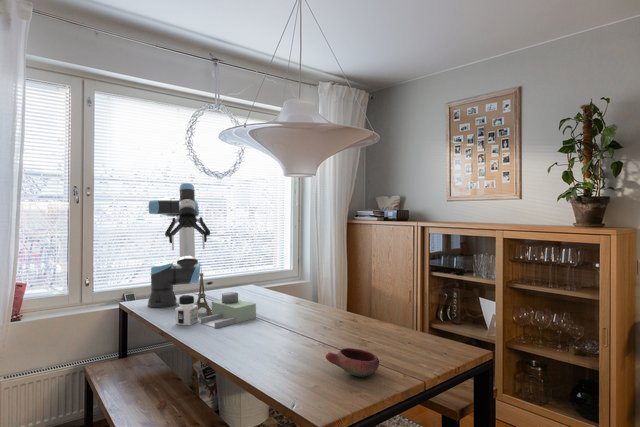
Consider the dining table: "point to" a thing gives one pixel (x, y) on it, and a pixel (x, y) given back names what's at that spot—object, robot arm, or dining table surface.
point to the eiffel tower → (202, 296)
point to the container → (186, 311)
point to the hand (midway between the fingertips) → (188, 248)
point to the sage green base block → (229, 311)
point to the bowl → (355, 361)
